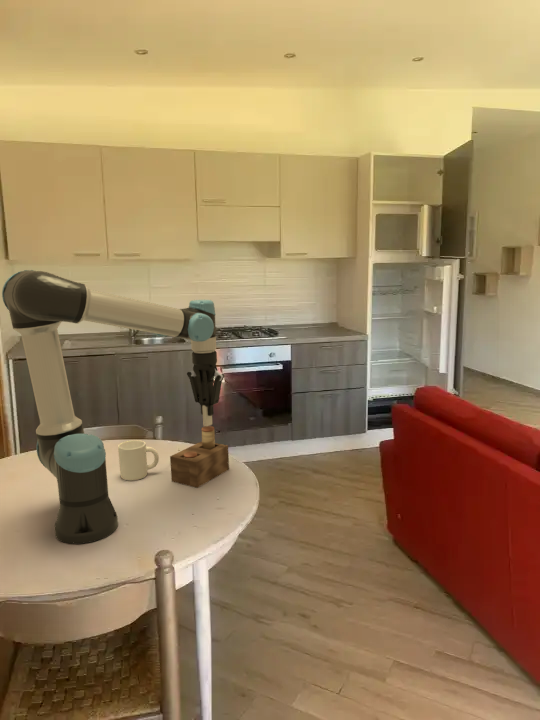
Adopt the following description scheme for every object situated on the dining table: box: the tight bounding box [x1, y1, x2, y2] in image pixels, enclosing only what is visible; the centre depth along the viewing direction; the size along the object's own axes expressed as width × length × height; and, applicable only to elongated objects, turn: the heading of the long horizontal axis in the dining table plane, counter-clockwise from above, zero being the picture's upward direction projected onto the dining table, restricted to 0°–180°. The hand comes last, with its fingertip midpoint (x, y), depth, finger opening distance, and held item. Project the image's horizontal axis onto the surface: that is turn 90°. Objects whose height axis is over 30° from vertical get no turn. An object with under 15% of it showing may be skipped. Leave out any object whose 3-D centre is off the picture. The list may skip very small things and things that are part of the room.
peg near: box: [184, 452, 197, 459], centre depth 167 cm, size 4×4×8 cm
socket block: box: [169, 440, 230, 489], centre depth 171 cm, size 16×10×8 cm, turn 149°
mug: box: [117, 439, 160, 482], centre depth 172 cm, size 12×8×10 cm
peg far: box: [201, 425, 216, 450], centre depth 174 cm, size 4×4×8 cm
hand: (207, 424), depth 173 cm, fingers closed
